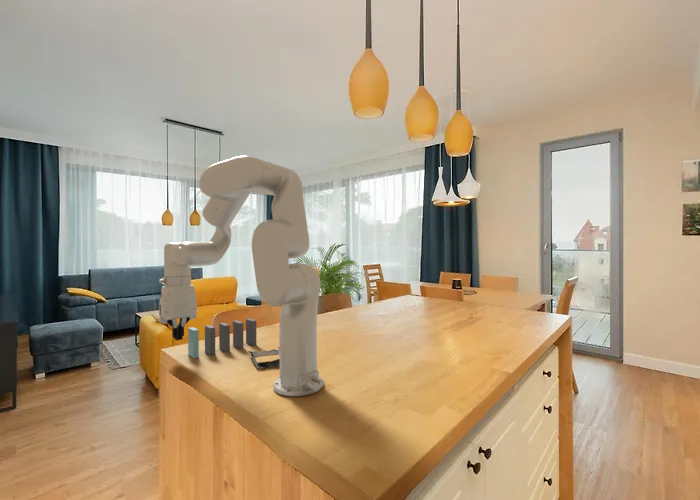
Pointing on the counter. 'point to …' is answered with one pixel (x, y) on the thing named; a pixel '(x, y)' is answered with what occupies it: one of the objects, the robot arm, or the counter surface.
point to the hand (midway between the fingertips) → (178, 339)
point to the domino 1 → (210, 340)
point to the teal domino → (193, 342)
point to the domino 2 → (224, 337)
